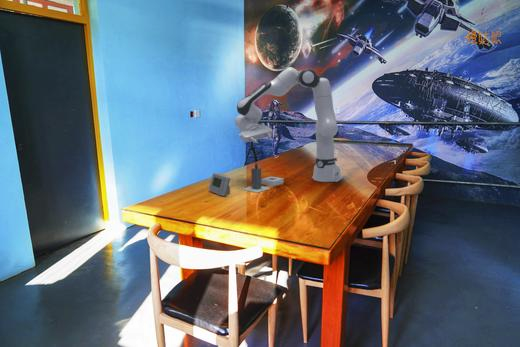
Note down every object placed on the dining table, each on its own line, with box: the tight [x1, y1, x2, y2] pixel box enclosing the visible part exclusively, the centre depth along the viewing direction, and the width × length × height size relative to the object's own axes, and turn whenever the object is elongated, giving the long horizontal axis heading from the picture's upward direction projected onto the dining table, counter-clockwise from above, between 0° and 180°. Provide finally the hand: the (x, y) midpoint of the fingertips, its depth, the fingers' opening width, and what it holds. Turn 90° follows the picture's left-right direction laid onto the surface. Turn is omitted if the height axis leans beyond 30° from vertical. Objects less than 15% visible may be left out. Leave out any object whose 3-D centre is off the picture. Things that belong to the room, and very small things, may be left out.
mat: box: [241, 185, 271, 194], centre depth 207 cm, size 12×12×1 cm
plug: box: [250, 162, 262, 190], centre depth 206 cm, size 4×4×15 cm
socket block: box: [261, 175, 285, 187], centre depth 220 cm, size 10×10×3 cm
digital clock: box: [208, 172, 231, 197], centre depth 198 cm, size 16×9×11 cm, turn 27°
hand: (263, 140), depth 207 cm, fingers open, 8 cm apart
